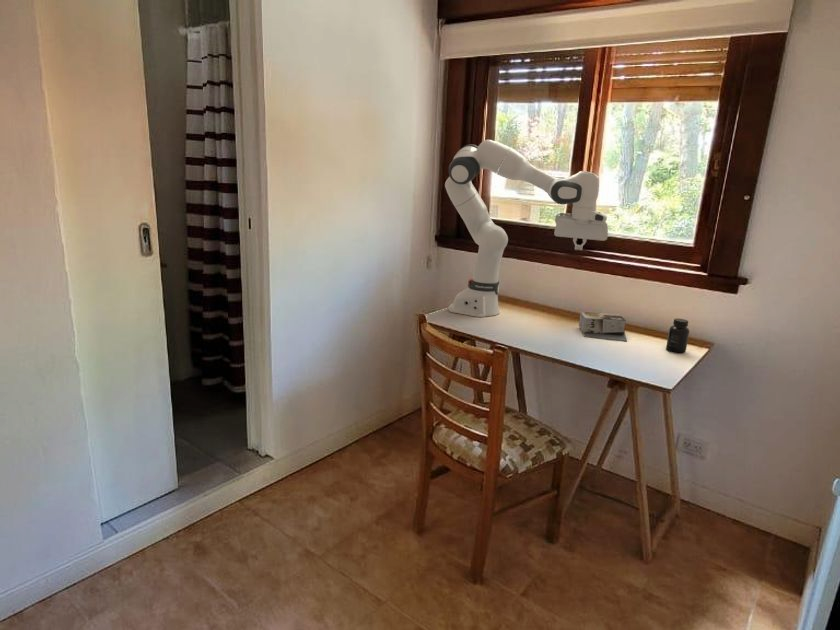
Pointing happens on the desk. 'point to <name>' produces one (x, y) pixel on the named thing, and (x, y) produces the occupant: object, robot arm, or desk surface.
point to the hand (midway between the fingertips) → (578, 249)
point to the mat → (607, 336)
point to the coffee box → (602, 323)
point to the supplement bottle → (678, 336)
